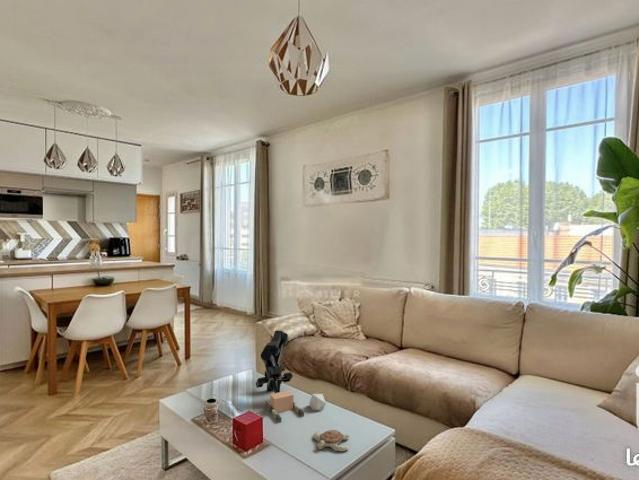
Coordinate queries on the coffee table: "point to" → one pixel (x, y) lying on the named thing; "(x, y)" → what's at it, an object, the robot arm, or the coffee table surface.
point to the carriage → (281, 401)
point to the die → (317, 402)
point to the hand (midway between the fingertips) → (278, 395)
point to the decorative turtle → (331, 440)
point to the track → (277, 413)
